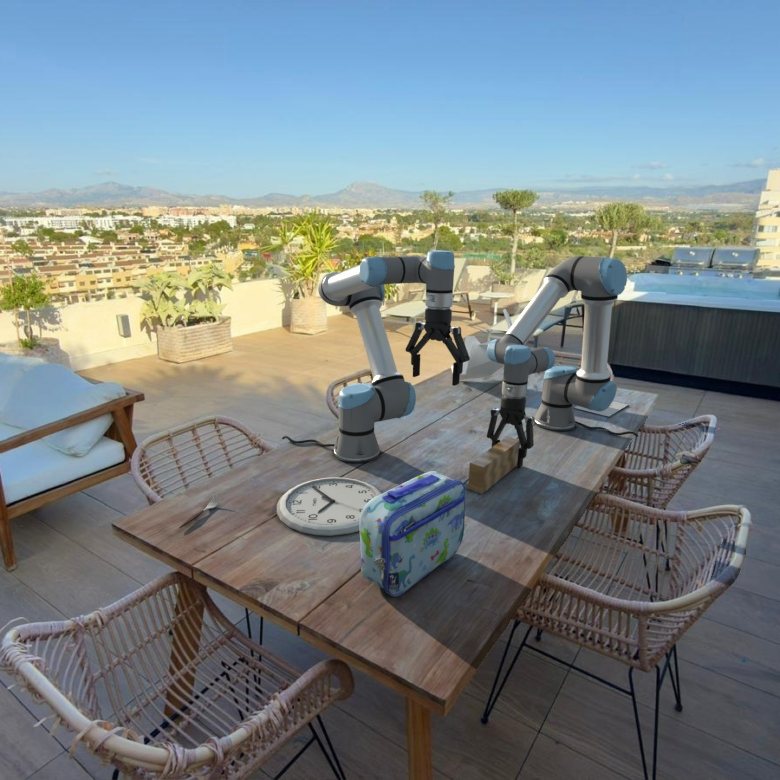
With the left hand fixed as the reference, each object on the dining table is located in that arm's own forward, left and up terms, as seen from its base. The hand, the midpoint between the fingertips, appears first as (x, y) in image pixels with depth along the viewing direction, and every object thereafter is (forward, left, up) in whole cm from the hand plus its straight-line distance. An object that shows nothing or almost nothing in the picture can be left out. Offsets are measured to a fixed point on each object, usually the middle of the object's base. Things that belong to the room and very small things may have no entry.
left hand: (435, 380), depth 153 cm
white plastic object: (-17, +98, -30) cm, 104 cm away
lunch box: (+18, -45, -30) cm, 57 cm away
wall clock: (-14, -32, -30) cm, 46 cm away
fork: (-40, -54, -30) cm, 74 cm away
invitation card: (+33, +98, -30) cm, 108 cm away
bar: (+17, +9, -30) cm, 36 cm away
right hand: (+18, +19, -29) cm, 39 cm away
